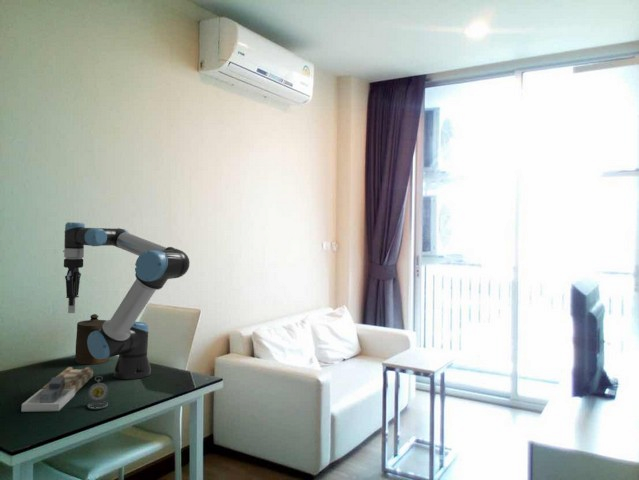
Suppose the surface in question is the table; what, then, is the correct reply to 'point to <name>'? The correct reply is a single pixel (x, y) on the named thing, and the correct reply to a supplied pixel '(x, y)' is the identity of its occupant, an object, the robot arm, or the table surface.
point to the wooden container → (81, 340)
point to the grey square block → (56, 391)
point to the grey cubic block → (48, 396)
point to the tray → (35, 404)
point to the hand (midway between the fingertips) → (72, 312)
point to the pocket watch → (98, 394)
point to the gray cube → (57, 382)
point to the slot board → (74, 377)
